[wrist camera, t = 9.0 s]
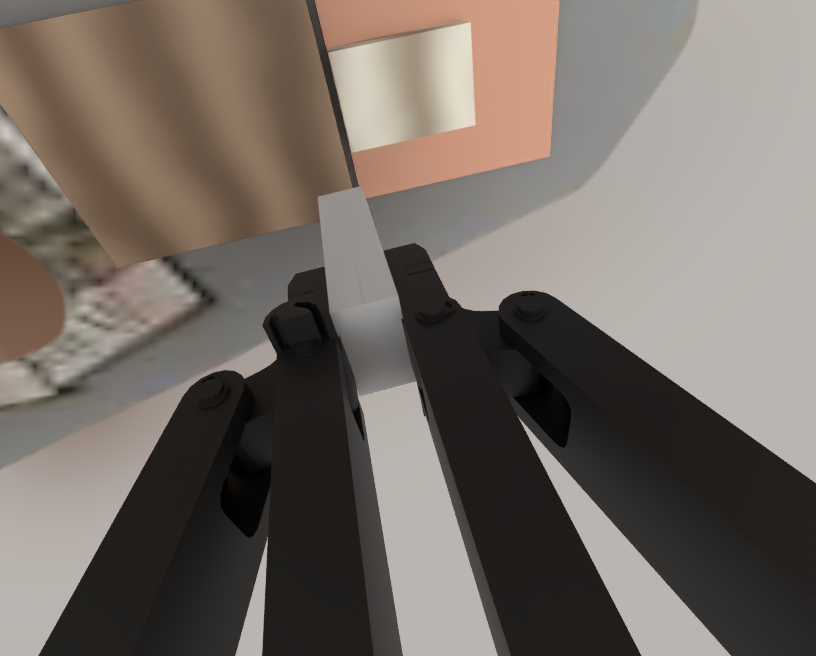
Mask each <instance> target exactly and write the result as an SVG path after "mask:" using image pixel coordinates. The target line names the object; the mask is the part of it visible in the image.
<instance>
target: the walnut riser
mask: <svg viewBox="0 0 816 656" xmlns="http://www.w3.org/2000/svg"><path fill="white" fill-rule="evenodd" d="M0 104H1V106H2V107H3V108H4V110H5V111H6V113H7V114H8V115H9V117H10V118H11V120H12V121H13V122H14V124H15V125H16V127H17V128H18V129H19V131H20V132H21V134H22V135H23V136H24V138H25V139H26V141H27V142H28V143H29V145H30V146H31V148H32V149H33V150H34V152H35V153H36V155H37V156H38V157H39V159H40V160H41V162H42V163H43V164H44V166H45V167H46V169H47V170H48V171H49V173H50V174H51V176H52V177H53V178H54V180H55V181H56V183H57V184H58V185H59V187H60V188H61V190H62V191H63V192H64V194H65V195H66V197H67V198H68V199H69V201H70V202H71V204H72V205H73V206H74V208H75V209H76V211H77V212H78V213H79V215H80V216H81V218H82V219H83V221H84V222H85V223H86V225H87V226H88V228H89V229H90V230H91V232H92V233H93V235H94V236H95V237H96V239H97V240H98V242H99V243H100V244H101V246H102V247H103V249H104V250H105V251H106V253H107V254H108V256H109V257H110V258H111V260H112V261H113V263H114V264H115V265H116V267H117V268H118V267H123V266H127V265H131V264H136V263H140V262H144V261H149V260H153V259H157V258H162V257H166V256H170V255H175V254H179V253H183V252H188V251H192V250H197V249H201V248H205V247H210V246H214V245H218V244H223V243H227V242H231V241H236V240H240V239H244V238H249V237H253V236H257V235H262V234H266V233H270V232H275V231H279V230H283V229H288V228H292V227H296V226H301V225H305V224H310V223H314V222H318V221H320V216H319V206H318V196H322V195H327V194H331V193H335V192H339V191H343V190H347V189H352V188H353V186H352V182H351V178H350V174H349V170H348V166H347V162H346V158H345V154H344V150H343V146H342V142H341V138H340V134H339V130H338V126H337V122H336V118H335V114H334V110H333V106H332V101H331V97H330V93H329V89H328V85H327V81H326V77H325V73H324V69H323V65H322V61H321V57H320V53H319V49H318V45H317V41H316V37H315V33H314V29H313V25H312V21H311V17H310V13H309V9H308V5H307V1H306V0H138V1H133V2H128V3H123V4H118V5H113V6H108V7H104V8H99V9H94V10H89V11H84V12H79V13H74V14H69V15H64V16H59V17H55V18H50V19H45V20H40V21H35V22H30V23H25V24H20V25H15V26H10V27H6V28H1V29H0Z"/></svg>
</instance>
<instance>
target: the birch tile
mask: <svg viewBox="0 0 816 656" xmlns="http://www.w3.org/2000/svg"><path fill="white" fill-rule="evenodd" d="M327 51H328V55H329V60H330V64H331V68H332V72H333V76H334V81H335V85H336V89H337V93H338V98H339V102H340V106H341V110H342V114H343V119H344V123H345V127H346V131H347V136H348V140H349V144H350V148H351V151H352V153H353V152H358V151H362V150H367V149H371V148H376V147H380V146H385V145H389V144H393V143H398V142H402V141H407V140H411V139H416V138H420V137H425V136H429V135H434V134H438V133H443V132H447V131H452V130H456V129H460V128H465V127H469V126H474V125H476V123H475V102H474V81H473V60H472V40H471V22H467V21H462V20H457V21H452V22H447V23H443V24H438V25H433V26H428V27H424V28H419V29H414V30H410V31H405V32H400V33H396V34H391V35H386V36H381V37H377V38H372V39H367V40H363V41H358V42H353V43H348V44H344V45H339V46H334V47H330V48H327Z"/></svg>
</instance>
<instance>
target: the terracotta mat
mask: <svg viewBox="0 0 816 656" xmlns="http://www.w3.org/2000/svg"><path fill="white" fill-rule="evenodd" d="M559 1H560V0H315V4H316V8H317V12H318V17H319V21H320V25H321V29H322V33H323V38H324V42H325V46H326V50H327V48H330V47H334V46H339V45H344V44H348V43H353V42H358V41H363V40H367V39H372V38H377V37H381V36H386V35H391V34H396V33H400V32H405V31H410V30H414V29H419V28H424V27H428V26H433V25H438V24H443V23H447V22H452V21H457V20H462V21H467V22H471V40H472V60H473V81H474V102H475V123H476V125H474V126H469V127H465V128H460V129H456V130H452V131H447V132H443V133H438V134H434V135H429V136H425V137H420V138H416V139H411V140H407V141H402V142H398V143H393V144H389V145H385V146H380V147H376V148H371V149H367V150H362V151H358V152H353V153H352V151H351V148H350V151H351V155H352V159H353V164H354V168H355V172H356V176H357V181H358V185H359V187H360V186H362V189H363V192H364V195H365V198H371V197H375V196H380V195H384V194H388V193H393V192H397V191H401V190H406V189H410V188H415V187H419V186H423V185H428V184H432V183H436V182H441V181H445V180H449V179H454V178H458V177H463V176H467V175H471V174H476V173H480V172H484V171H489V170H493V169H498V168H502V167H506V166H511V165H515V164H519V163H524V162H528V161H533V160H537V159H541V158H546V157H550V146H551V130H552V113H553V97H554V81H555V65H556V49H557V33H558V17H559ZM327 54H328V51H327ZM328 59H329V55H328ZM329 63H330V60H329ZM330 67H331V64H330ZM331 71H332V68H331ZM332 75H333V72H332ZM333 80H334V76H333ZM334 84H335V81H334ZM335 88H336V85H335ZM336 92H337V89H336ZM337 96H338V93H337ZM338 101H339V98H338ZM339 105H340V102H339ZM340 109H341V106H340ZM341 113H342V110H341ZM342 117H343V114H342ZM343 122H344V119H343ZM344 126H345V123H344ZM345 130H346V127H345ZM346 134H347V131H346ZM347 138H348V136H347ZM348 143H349V140H348ZM349 147H350V144H349Z"/></svg>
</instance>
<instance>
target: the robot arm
mask: <svg viewBox="0 0 816 656" xmlns="http://www.w3.org/2000/svg"><path fill="white" fill-rule="evenodd" d="M318 206H319V216H320V225H321V235H322V244H323V254H324V264H325V267H322V268H318V269H314V270H309V271H305V272H301V273H297V274H295V276H294V277H293V279H292V280H291V282H290V283H289V285H288V302H285V303H283V304H281V305H279V306H278V307H276V308H275V309H273V310H272V311H271V312H270V313H269V314H268V315H267V316H266V317H265V320H264V323H263V325H262V326H263V327H264V329H265V331H266V333H267V335H268V337H269V339H270V341H271V343H272V345H273V347H274V349H275V351H276V353H277V360H276V361H274V362H273V363H272V364H271V365H270V366H268V367H266V368H265V369H263V370H261V371H260V372H257V373H255V374H254V375H251V376H249V377H248V378H245V379H244V378H243V376H242V375H241V374H239V373H237V372H235V371H227V370H224V371H220V372H215V373H212V374H210V375H208V376H205V377H203V378H201V379H200V380H199V381H197V382H196V383H195V384H194V385H192V386H191V387H190V388H189V389H188V391H187V392H186V393H185V394H184V396H183V397H182V399H181V401H180V403H179V404H178V406H177V408H176V410H175V412H174V413H173V415H172V417H171V419H170V421H169V423H168V424H167V426H166V428H165V429H164V431H163V433H162V435H161V437H160V438H159V440H158V442H157V444H156V446H155V447H154V450H153V451H152V453H151V455H150V456H149V458H148V460H147V462H146V464H145V465H144V467H143V469H142V471H141V473H140V474H139V476H138V478H137V480H136V482H135V483H134V485H133V487H132V489H131V491H130V492H129V494H128V496H127V498H126V500H125V501H124V503H123V505H122V507H121V509H120V510H119V512H118V514H117V516H116V518H115V519H114V521H113V523H112V525H111V527H110V528H109V530H108V532H107V534H106V535H105V538H104V539H103V541H102V543H101V544H100V546H99V548H98V550H97V552H96V553H95V555H94V557H93V559H92V561H91V563H90V564H89V566H88V568H87V570H86V571H85V573H84V575H83V577H82V579H81V580H80V582H79V584H78V586H77V588H76V590H75V591H74V593H73V595H72V597H71V599H70V600H69V602H68V604H67V606H66V607H65V609H64V611H63V613H62V615H61V616H60V618H59V620H58V622H57V624H56V626H55V627H54V629H53V631H52V632H51V634H50V636H49V638H48V640H47V641H46V643H45V645H44V647H43V649H42V650H41V652H40V654H39V656H235V654H236V650H237V647H238V643H239V640H240V636H241V632H242V629H243V625H244V621H245V617H246V614H247V610H248V607H249V603H250V599H251V596H252V592H253V588H254V585H255V581H256V577H257V574H258V570H259V566H260V563H261V559H262V555H263V551H264V548H265V544H266V541H267V537H268V548H267V568H266V589H265V610H264V612H265V613H264V631H263V652H262V656H403V654H402V649H401V642H400V636H399V630H398V624H397V617H396V611H395V605H394V599H393V593H392V587H391V581H390V574H389V568H388V563H387V556H386V550H385V544H384V537H383V531H382V525H381V519H380V513H379V507H378V501H377V494H376V488H375V483H374V476H373V470H372V464H371V458H370V451H369V445H368V439H367V433H366V427H365V421H364V415H363V411H362V408H361V405H360V403H359V400H358V394H357V390H358V393H359V396H362V395H366V394H369V393H373V392H377V391H381V390H385V389H388V388H392V387H396V386H400V385H403V384H407V383H410V382H415V381H417V385H418V389H419V394H420V399H421V403H422V408H423V413H424V416H426V418H427V422H428V425H429V428H430V432H431V435H432V438H433V442H434V445H435V448H436V451H437V455H438V458H439V462H440V465H441V468H442V472H443V475H444V478H445V481H446V485H447V488H448V491H449V495H450V498H451V501H452V505H453V508H454V511H455V515H456V518H457V521H458V525H459V528H460V531H461V535H462V538H463V541H464V545H465V548H466V551H467V555H468V558H469V561H470V565H471V568H472V571H473V574H474V578H475V581H476V584H477V588H478V591H479V594H480V598H481V601H482V604H483V608H484V611H485V614H486V618H487V621H488V624H489V628H490V631H491V634H492V638H493V641H494V644H495V648H496V651H497V654H498V656H641V654H640V652H639V650H638V648H637V646H636V644H635V643H634V641H633V639H632V637H631V635H630V633H629V631H628V629H627V627H626V625H625V623H624V621H623V619H622V617H621V615H620V613H619V612H618V610H617V608H616V606H615V604H614V602H613V600H612V598H611V596H610V594H609V592H608V590H607V588H606V587H605V585H604V583H603V581H602V579H601V577H600V575H599V573H598V571H597V569H596V567H595V565H594V563H593V561H592V559H591V558H590V555H589V554H588V551H587V550H586V548H585V546H584V544H583V542H582V540H581V538H580V536H579V534H578V532H577V530H576V528H575V526H574V524H573V522H572V521H571V519H570V517H569V515H568V513H567V511H566V509H565V507H564V505H563V503H562V501H561V499H560V497H559V495H558V494H557V491H556V490H555V488H554V486H553V484H552V482H551V480H550V478H549V476H548V474H547V472H546V470H545V468H544V466H543V464H542V463H541V460H540V458H539V457H538V455H537V453H536V451H535V449H534V447H533V445H532V443H531V441H530V439H529V437H528V435H527V433H526V431H525V430H524V427H523V426H522V424H521V422H520V420H519V418H520V419H521V420H522V421H523V422H524V424H525V425H526V426H527V427H528V428H529V429H530V430H531V431H532V432H533V434H534V435H535V436H536V437H537V438H538V439H539V440H540V442H542V444H543V445H544V446H545V447H546V448H547V449H548V451H549V452H550V453H551V454H552V455H553V456H554V457H555V458H556V460H558V462H559V463H560V464H561V465H562V466H563V467H564V468H565V470H566V471H567V472H568V473H569V474H570V475H571V476H572V477H573V479H574V480H575V481H576V482H577V483H578V484H579V485H580V486H581V487H582V489H583V490H584V491H585V492H586V493H587V494H588V495H589V497H590V498H591V499H592V500H593V501H594V502H595V503H596V504H597V506H598V507H599V508H600V509H601V510H602V511H603V512H604V513H605V515H606V516H608V518H609V519H610V520H611V521H612V522H613V523H614V525H615V526H616V527H617V528H618V529H619V530H620V531H621V532H622V534H623V535H624V536H625V537H626V538H627V539H628V540H629V541H630V542H631V544H632V545H633V546H634V547H635V548H636V549H637V550H638V552H640V554H641V555H642V556H643V557H644V558H645V559H646V561H647V562H648V563H649V564H650V565H651V566H652V567H653V568H654V570H655V571H656V572H657V573H658V574H659V575H660V576H661V577H662V578H663V580H664V581H665V582H666V583H667V584H668V585H669V586H670V587H671V589H672V590H673V591H674V592H675V593H676V594H677V595H678V596H679V597H680V599H681V600H682V601H683V602H684V603H685V604H686V605H687V606H688V608H689V609H690V610H691V611H692V612H693V613H694V614H695V616H696V617H697V618H698V619H699V620H700V621H701V622H702V623H703V624H704V626H705V627H706V628H707V629H708V630H709V631H710V632H711V634H712V635H713V636H714V637H715V638H716V639H717V640H718V641H719V642H720V644H721V645H722V646H723V647H724V648H725V649H726V650H727V651H728V653H729V654H730V655H731V656H816V483H815V482H813V481H812V480H810V479H809V478H808V477H806V476H805V475H803V474H802V473H801V472H799V471H798V470H796V469H795V468H793V467H792V466H791V465H789V464H788V463H787V462H785V461H784V460H782V459H781V458H780V457H778V456H777V455H775V454H774V453H772V452H771V451H770V450H768V449H767V448H766V447H764V446H763V445H761V444H760V443H758V442H757V441H756V440H754V439H753V438H752V437H750V436H749V435H747V434H746V433H744V432H743V431H742V430H740V429H739V428H737V427H736V426H735V425H733V424H732V423H730V422H729V421H728V420H726V419H725V418H723V417H722V416H721V415H719V414H718V413H716V412H715V411H714V410H712V409H711V408H709V407H708V406H707V405H705V404H704V403H702V402H701V401H700V400H698V399H697V398H695V397H694V396H693V395H691V394H690V393H688V392H687V391H686V390H684V389H683V388H681V387H680V386H679V385H677V384H676V383H674V382H673V381H672V380H670V379H668V378H667V377H666V376H664V375H663V374H662V373H660V372H659V371H658V370H656V369H655V368H653V367H652V366H650V365H649V364H648V363H646V362H645V361H643V360H642V359H641V358H639V357H638V356H637V355H635V354H634V353H632V352H631V351H630V350H628V349H626V348H625V347H624V346H622V345H621V344H620V343H618V342H617V341H615V340H614V339H613V338H611V337H610V336H608V335H607V334H606V333H604V332H603V331H601V330H600V329H599V328H597V327H596V326H594V325H593V324H592V323H590V322H589V321H587V320H586V319H585V318H583V317H582V316H580V315H579V314H578V313H576V312H575V311H573V310H572V309H571V308H569V307H568V306H566V305H565V304H564V303H562V302H561V301H559V300H558V299H556V298H555V297H553V296H551V295H549V294H547V293H544V292H538V291H521V292H518V293H514V294H511V295H509V296H508V297H506V298H505V299H503V301H502V302H501V304H500V306H499V311H472V310H467V309H464V308H462V307H461V306H460V305H459V304H458V302H457V301H456V300H454V299H452V298H450V297H449V296H448V294H447V292H446V290H445V288H444V286H443V284H442V282H441V280H440V278H439V276H438V274H437V272H436V270H435V268H434V266H433V264H432V262H431V260H430V258H429V256H428V254H427V252H426V250H425V249H423V248H422V247H420V246H419V245H417V244H415V243H413V244H409V245H405V246H401V247H397V248H393V249H389V250H385V251H383V249H382V246H381V243H380V240H379V237H378V234H377V231H376V228H375V225H374V222H373V219H372V216H371V213H370V210H369V207H368V204H367V201H366V198H365V195H364V192H363V189H362V186H360V187H356V188H352V189H347V190H343V191H339V192H335V193H331V194H327V195H322V196H318ZM518 417H519V418H518Z"/></svg>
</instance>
